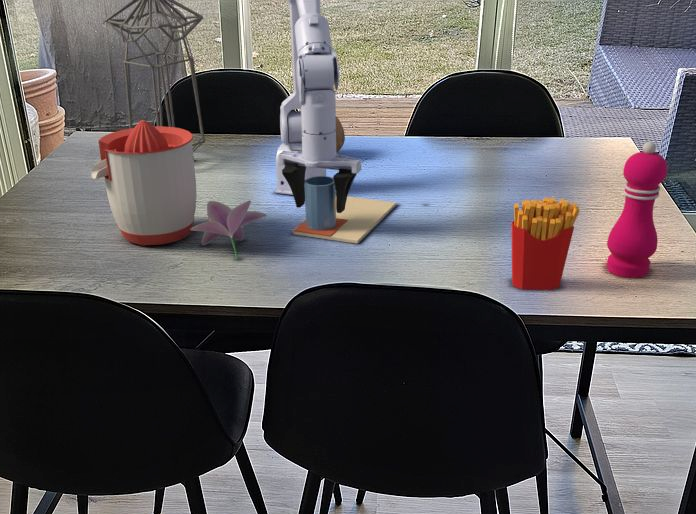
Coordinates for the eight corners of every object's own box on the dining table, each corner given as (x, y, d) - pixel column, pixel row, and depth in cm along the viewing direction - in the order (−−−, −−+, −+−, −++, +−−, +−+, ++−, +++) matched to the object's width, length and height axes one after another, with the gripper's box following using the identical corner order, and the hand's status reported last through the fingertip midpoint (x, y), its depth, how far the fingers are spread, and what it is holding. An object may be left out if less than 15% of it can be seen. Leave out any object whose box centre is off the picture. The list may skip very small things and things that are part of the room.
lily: (279, 249, 141) (262, 194, 141) (262, 248, 130) (245, 189, 129) (214, 269, 144) (198, 215, 143) (192, 270, 132) (175, 212, 131)
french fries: (507, 289, 124) (516, 206, 117) (504, 277, 127) (512, 196, 121) (570, 290, 123) (582, 206, 116) (565, 278, 126) (577, 196, 120)
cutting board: (293, 234, 144) (293, 230, 144) (337, 197, 160) (337, 193, 159) (357, 243, 140) (357, 239, 139) (396, 205, 156) (396, 201, 155)
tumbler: (301, 228, 144) (299, 183, 140) (313, 218, 149) (312, 174, 145) (329, 232, 143) (328, 187, 138) (340, 221, 147) (340, 177, 143)
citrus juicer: (95, 228, 149) (75, 116, 138) (189, 213, 154) (177, 104, 144) (112, 260, 136) (92, 139, 126) (213, 242, 142) (202, 125, 132)
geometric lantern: (169, 149, 191) (150, -17, 173) (220, 159, 183) (206, -13, 165) (118, 166, 180) (92, -9, 162) (170, 179, 172) (149, -4, 154)
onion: (303, 150, 187) (302, 105, 182) (347, 151, 186) (347, 106, 181) (296, 163, 179) (295, 117, 174) (342, 164, 178) (342, 117, 173)
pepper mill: (596, 261, 132) (615, 136, 121) (640, 259, 132) (663, 133, 122) (613, 280, 125) (636, 150, 115) (659, 278, 126) (686, 147, 116)
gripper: (268, 132, 137) (272, 210, 144) (350, 140, 131) (350, 221, 138) (287, 121, 142) (290, 197, 149) (366, 129, 137) (365, 207, 144)
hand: (320, 208), depth 144 cm, fingers open, 7 cm apart
